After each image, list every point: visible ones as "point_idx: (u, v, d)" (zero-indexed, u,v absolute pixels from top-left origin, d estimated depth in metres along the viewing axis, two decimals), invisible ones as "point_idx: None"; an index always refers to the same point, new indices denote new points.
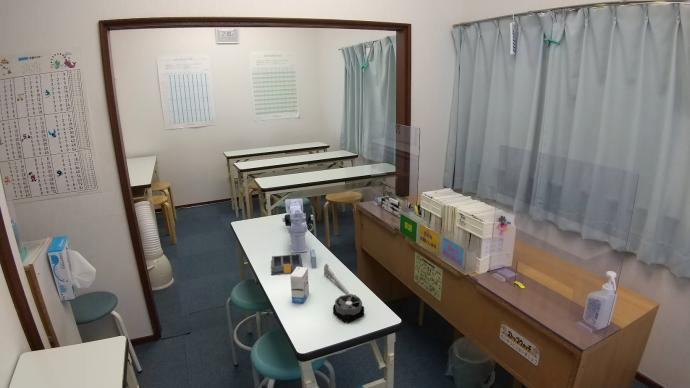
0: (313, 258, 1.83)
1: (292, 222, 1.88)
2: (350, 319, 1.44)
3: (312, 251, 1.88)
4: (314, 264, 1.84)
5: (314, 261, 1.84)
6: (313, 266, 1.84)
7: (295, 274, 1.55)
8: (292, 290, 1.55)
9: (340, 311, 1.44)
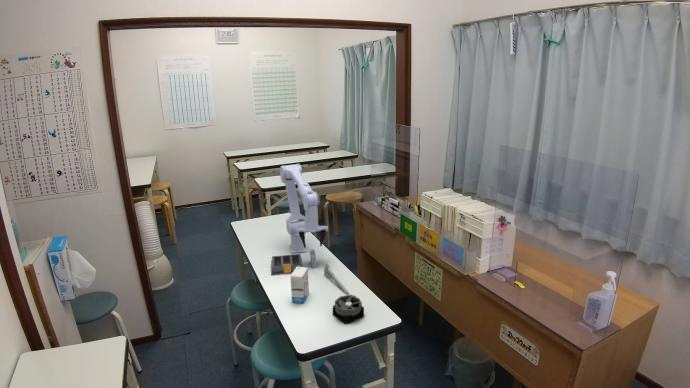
0: (313, 258, 1.83)
1: None
2: (350, 320, 1.43)
3: (312, 251, 1.88)
4: (314, 264, 1.84)
5: (314, 261, 1.84)
6: (313, 266, 1.84)
7: (295, 274, 1.55)
8: (292, 290, 1.55)
9: (340, 312, 1.44)
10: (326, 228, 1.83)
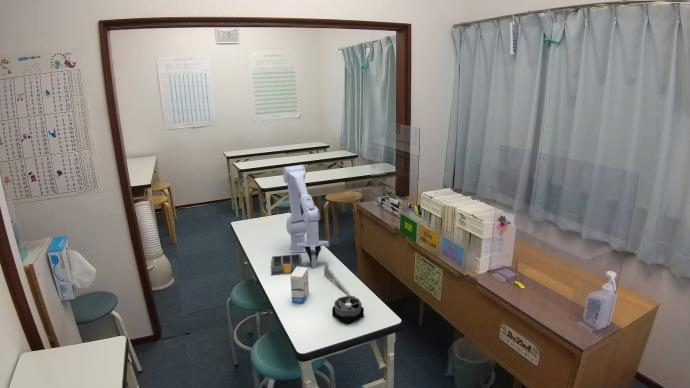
0: (313, 258, 1.83)
1: (306, 243, 1.87)
2: (350, 321, 1.43)
3: (312, 251, 1.88)
4: (314, 264, 1.84)
5: (314, 261, 1.84)
6: (313, 266, 1.84)
7: (295, 274, 1.55)
8: (292, 290, 1.55)
9: (340, 313, 1.43)
10: (326, 243, 1.85)
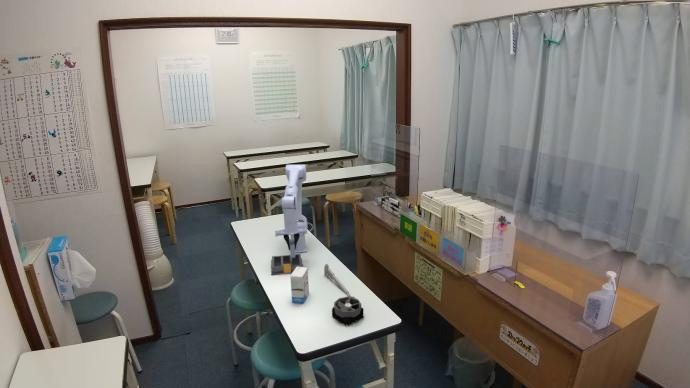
0: (291, 247, 1.80)
1: (285, 231, 1.83)
2: (350, 321, 1.43)
3: (291, 240, 1.85)
4: (293, 253, 1.81)
5: (293, 250, 1.81)
6: (292, 255, 1.81)
7: (295, 274, 1.55)
8: (292, 290, 1.55)
9: (340, 314, 1.43)
10: (305, 231, 1.82)
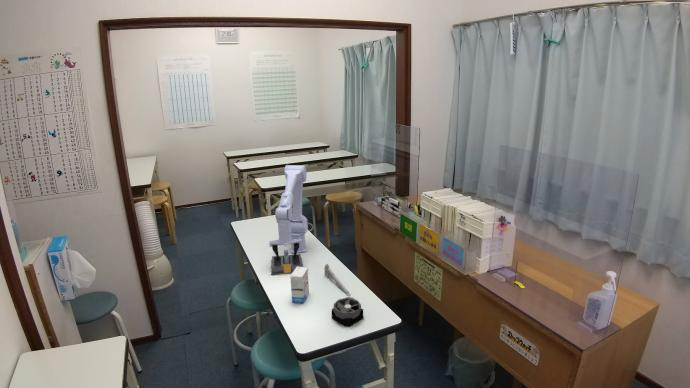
0: (286, 259, 1.81)
1: None
2: (350, 323, 1.42)
3: (285, 252, 1.86)
4: None
5: (287, 262, 1.82)
6: None
7: (295, 274, 1.55)
8: (292, 290, 1.55)
9: (340, 315, 1.42)
10: (299, 241, 1.83)
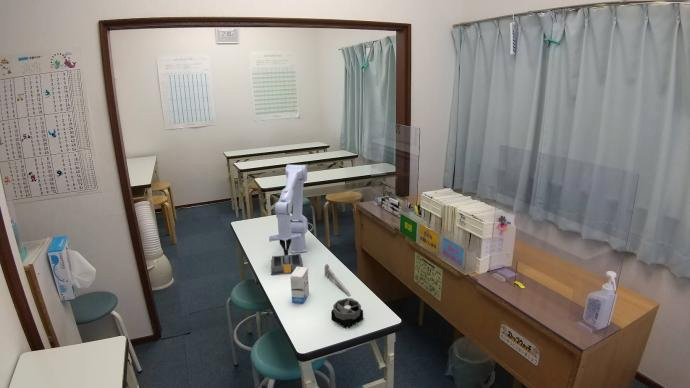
0: (286, 259, 1.81)
1: (279, 236, 1.83)
2: (351, 323, 1.41)
3: None
4: None
5: (287, 262, 1.82)
6: None
7: (295, 274, 1.55)
8: (292, 290, 1.55)
9: (340, 316, 1.41)
10: (299, 236, 1.82)
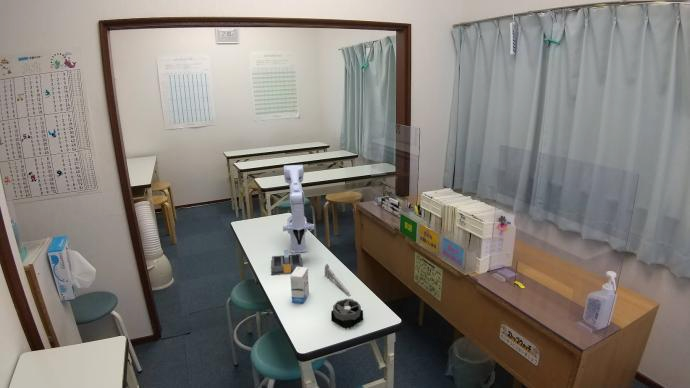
0: (286, 259, 1.81)
1: None
2: (351, 324, 1.41)
3: (285, 252, 1.86)
4: None
5: (287, 262, 1.82)
6: None
7: (295, 274, 1.55)
8: (292, 290, 1.55)
9: (340, 317, 1.41)
10: (312, 226, 1.86)
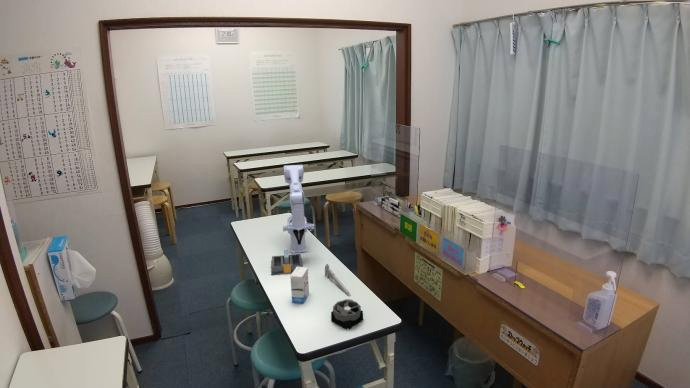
0: (286, 259, 1.81)
1: None
2: (351, 325, 1.41)
3: (285, 252, 1.86)
4: None
5: (287, 262, 1.82)
6: None
7: (295, 274, 1.55)
8: (292, 290, 1.55)
9: (340, 318, 1.40)
10: (312, 226, 1.86)
